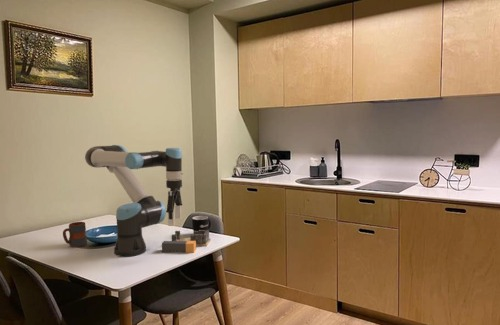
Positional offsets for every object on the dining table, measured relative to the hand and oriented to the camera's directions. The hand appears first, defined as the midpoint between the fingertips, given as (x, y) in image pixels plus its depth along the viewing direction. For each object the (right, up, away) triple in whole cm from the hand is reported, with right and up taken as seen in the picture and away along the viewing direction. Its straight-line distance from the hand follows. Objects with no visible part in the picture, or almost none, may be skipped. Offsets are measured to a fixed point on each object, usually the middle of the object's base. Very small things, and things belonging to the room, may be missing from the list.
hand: (174, 221), depth 186 cm
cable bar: (+2, -15, +1) cm, 15 cm away
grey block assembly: (+6, -13, +13) cm, 20 cm away
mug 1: (-54, -15, +11) cm, 57 cm away
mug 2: (+10, -12, +29) cm, 33 cm away
